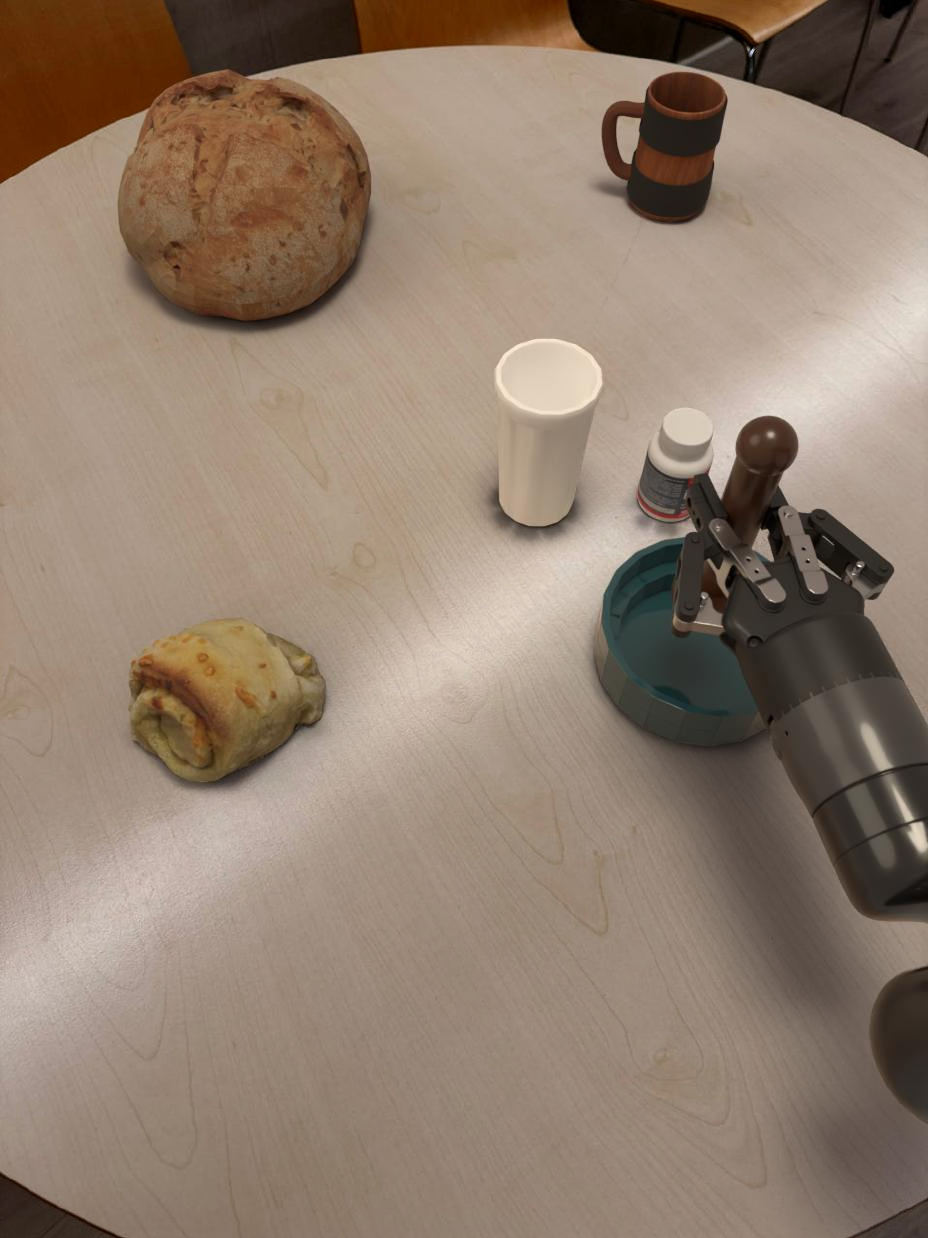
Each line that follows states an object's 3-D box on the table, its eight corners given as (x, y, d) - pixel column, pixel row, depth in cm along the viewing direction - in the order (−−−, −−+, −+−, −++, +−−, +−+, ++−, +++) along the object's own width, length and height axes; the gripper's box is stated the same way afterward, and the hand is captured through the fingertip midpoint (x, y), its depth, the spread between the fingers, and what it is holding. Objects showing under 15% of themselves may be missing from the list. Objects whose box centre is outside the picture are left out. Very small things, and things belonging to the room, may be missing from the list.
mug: (596, 167, 111) (610, 60, 101) (707, 178, 110) (732, 71, 100) (589, 217, 107) (603, 110, 97) (705, 229, 106) (732, 122, 96)
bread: (336, 346, 96) (319, 206, 83) (98, 317, 98) (45, 176, 85) (391, 175, 110) (384, 33, 97) (181, 152, 112) (147, 10, 99)
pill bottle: (682, 533, 85) (704, 462, 77) (625, 506, 86) (642, 434, 79) (708, 491, 87) (733, 418, 80) (653, 466, 89) (672, 392, 81)
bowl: (717, 551, 84) (732, 509, 79) (834, 697, 77) (858, 660, 72) (556, 622, 80) (563, 583, 75) (664, 784, 73) (679, 751, 68)
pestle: (717, 554, 72) (784, 379, 58) (762, 610, 70) (842, 440, 55) (655, 582, 71) (708, 409, 57) (699, 639, 68) (765, 474, 54)
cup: (524, 553, 84) (536, 433, 71) (469, 488, 87) (471, 363, 75) (602, 511, 86) (627, 387, 74) (546, 449, 90) (560, 322, 77)
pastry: (109, 776, 73) (74, 726, 66) (161, 628, 79) (134, 569, 73) (304, 802, 72) (288, 754, 65) (340, 650, 78) (329, 592, 72)
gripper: (989, 657, 53) (845, 416, 62) (734, 712, 51) (624, 455, 60) (931, 723, 59) (808, 496, 68) (702, 774, 57) (607, 534, 66)
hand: (722, 478), depth 64 cm, fingers closed on pestle, 3 cm apart
